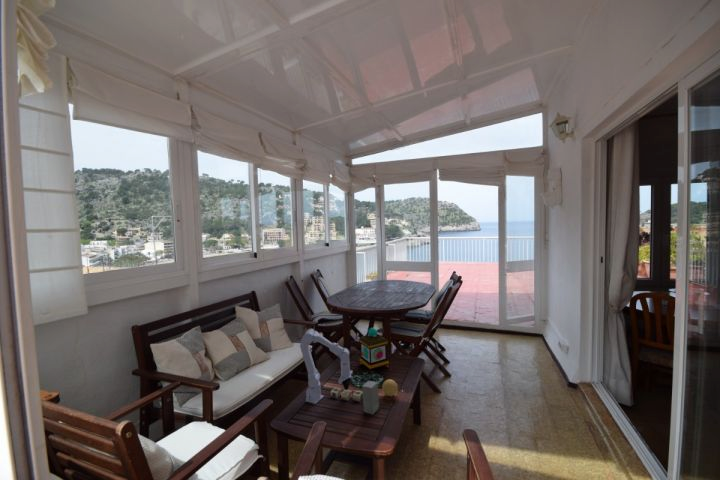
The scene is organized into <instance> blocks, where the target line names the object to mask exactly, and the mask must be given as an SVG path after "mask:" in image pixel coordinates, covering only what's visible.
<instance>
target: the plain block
mask: <svg viewBox="0 0 720 480" xmlns="http://www.w3.org/2000/svg"><path fill="white" fill-rule="evenodd" d="M340 398H341V400H344V401H349V400H351V399H352V398H353V391H352V390H351V389H348V390H345V389H343V391H341V397H340Z"/></svg>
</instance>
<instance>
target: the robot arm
mask: <svg viewBox="0 0 720 480" xmlns="http://www.w3.org/2000/svg"><path fill="white" fill-rule="evenodd" d="M312 343H313V344H315V343H320V344H321V345H324V346H325V347H327V348H328V349H329V351H330V352H331V353H333V354H334V355H335V356H337V357H339V359H340V377H339V379H338V384H340V385H342V386H343V390H349V388H350V383H351V380H352V375H353V374H354V373H353V369H352V370H351V366H350V365H351V362H350V350H349V349H348V348H347V347H342V346H340V345H339V343H338V342H337V343H336V342H331V341H330V340H329V339H327V338H326V337H324V336H323V335H321V334H320V333H319V332H318V331H317V330H315V329H314V328H308V329H307V330H306V331H305V333H304V334H303V336H302V338H301V342H300V344H299V348H300V351H301V355H302V358H303V360H304V364H305V368H306V370H307V379H308V381H307V384H308V388H307V389H306V391H305V395H306V396H305V402H307V403H311V404H314V405H316V404H317V403H318V402H319V401H320V400H322V399H323V398H324V397H325V395H322V391H321V389H322V388H321V382H320V379H321V374H320V372H319V371H318V369H317V368H316V366H315V363H314V359H313V356H312V352H311V349H310V344H312Z"/></svg>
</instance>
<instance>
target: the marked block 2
mask: <svg viewBox="0 0 720 480" xmlns="http://www.w3.org/2000/svg"><path fill="white" fill-rule="evenodd" d="M352 400H353V401H356V402H361V401H362V400H363V391H361V390H355V391H354V392H352Z"/></svg>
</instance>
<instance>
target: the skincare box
mask: <svg viewBox="0 0 720 480" xmlns="http://www.w3.org/2000/svg"><path fill="white" fill-rule="evenodd" d="M361 389H362V391H361V392H363V399H362V400H363V401H362V403H363V412H364V413H367V414H370V415H374V414H375V413H376V412H377V411H378V410H379V408H380V402H379V401H380V400H379V385H378V381H373V380H368V381H366V382H365V383H364V384H363V385H362V388H361Z"/></svg>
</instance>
